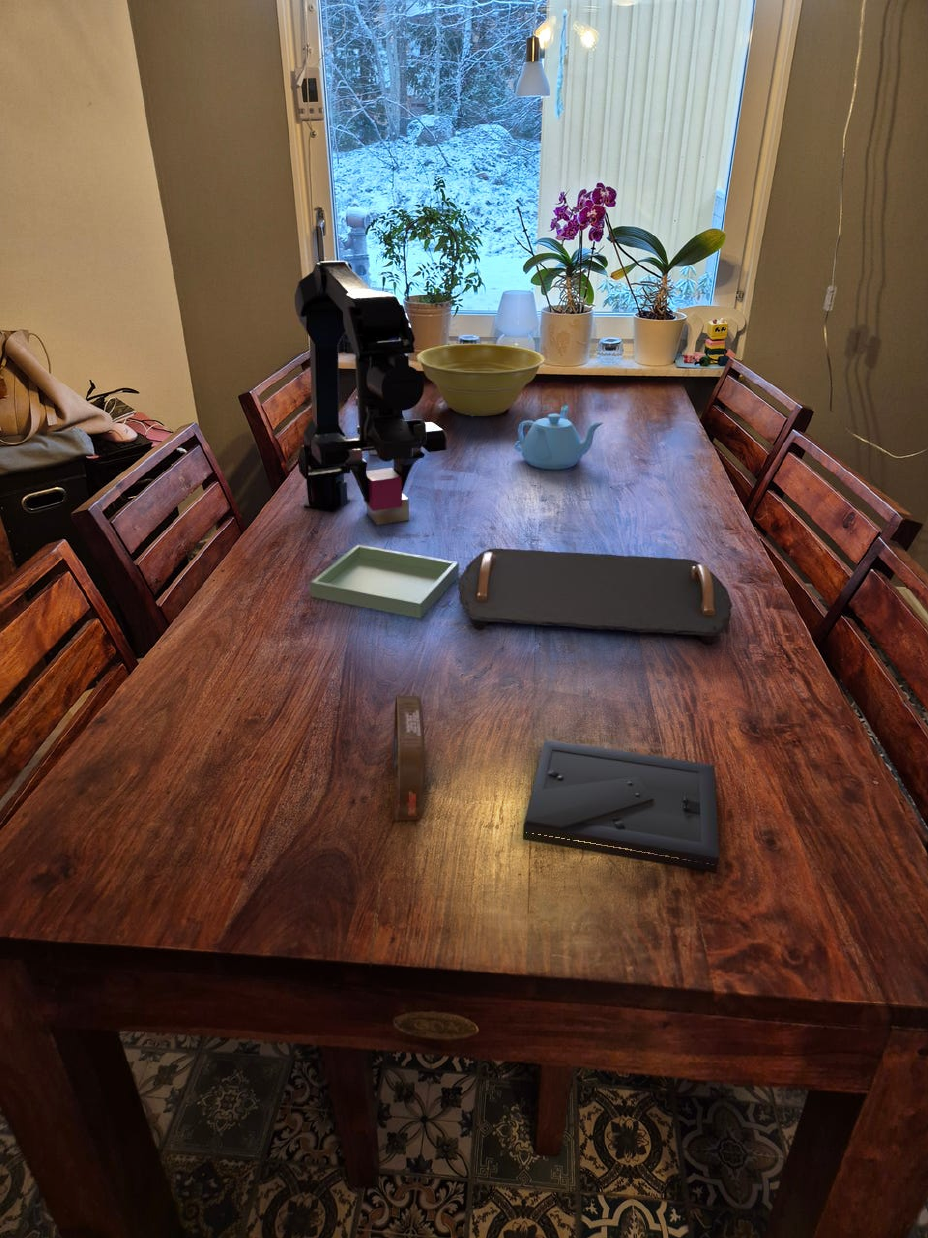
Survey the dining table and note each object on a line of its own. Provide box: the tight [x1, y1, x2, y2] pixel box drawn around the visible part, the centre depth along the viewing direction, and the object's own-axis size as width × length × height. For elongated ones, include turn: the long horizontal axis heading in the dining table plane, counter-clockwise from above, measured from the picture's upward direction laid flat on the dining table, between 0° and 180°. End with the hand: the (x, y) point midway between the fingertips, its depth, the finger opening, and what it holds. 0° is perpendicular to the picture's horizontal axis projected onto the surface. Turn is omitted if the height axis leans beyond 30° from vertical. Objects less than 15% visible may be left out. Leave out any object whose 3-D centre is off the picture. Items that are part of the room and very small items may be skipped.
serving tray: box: [457, 548, 733, 646], centre depth 117 cm, size 39×23×6 cm, turn 83°
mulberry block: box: [363, 467, 403, 511], centre depth 119 cm, size 4×4×4 cm
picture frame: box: [522, 739, 720, 873], centre depth 81 cm, size 13×2×18 cm
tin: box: [392, 693, 426, 822], centre depth 82 cm, size 15×3×8 cm, turn 5°
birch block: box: [365, 492, 410, 526], centre depth 146 cm, size 6×6×4 cm
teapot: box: [514, 404, 604, 470], centre depth 173 cm, size 15×15×10 cm
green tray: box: [309, 544, 460, 620], centre depth 123 cm, size 18×15×2 cm
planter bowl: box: [415, 343, 545, 417], centre depth 208 cm, size 32×32×13 cm
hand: (382, 499), depth 120 cm, fingers closed on mulberry block, 4 cm apart
